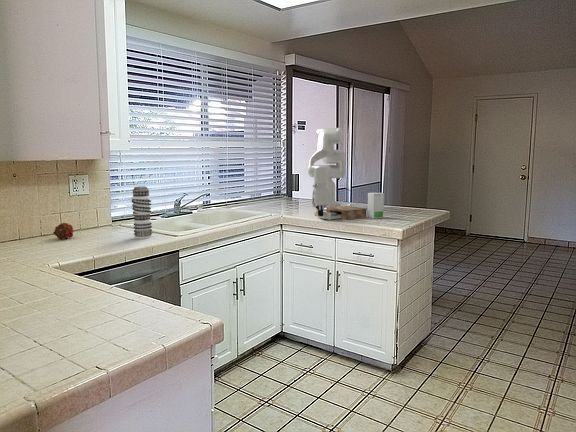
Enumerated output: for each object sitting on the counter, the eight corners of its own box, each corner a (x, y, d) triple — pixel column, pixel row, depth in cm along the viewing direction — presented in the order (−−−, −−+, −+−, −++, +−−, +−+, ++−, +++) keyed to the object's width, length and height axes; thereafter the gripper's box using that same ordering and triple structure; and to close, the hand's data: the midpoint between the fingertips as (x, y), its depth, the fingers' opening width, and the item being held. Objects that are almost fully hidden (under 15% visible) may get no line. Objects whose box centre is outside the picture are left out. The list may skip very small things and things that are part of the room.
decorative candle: (129, 238, 223) (127, 187, 219) (139, 235, 232) (136, 186, 228) (147, 239, 221) (144, 187, 218) (156, 235, 230) (153, 186, 227)
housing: (346, 213, 302) (346, 205, 301) (366, 217, 285) (366, 208, 284) (326, 215, 294) (326, 207, 293) (345, 219, 277) (345, 210, 276)
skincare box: (373, 218, 279) (373, 193, 276) (366, 217, 284) (366, 192, 282) (384, 217, 282) (384, 192, 280) (377, 216, 288) (377, 192, 286)
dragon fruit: (64, 244, 219) (62, 243, 229) (79, 232, 223) (76, 232, 233) (51, 230, 216) (49, 231, 226) (66, 219, 220) (63, 219, 230)
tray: (336, 215, 294) (336, 209, 293) (348, 217, 282) (348, 211, 282) (317, 217, 286) (317, 210, 286) (329, 219, 275) (329, 213, 274)
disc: (332, 214, 288) (332, 211, 288) (339, 216, 282) (339, 213, 282) (323, 215, 285) (323, 212, 285) (330, 217, 279) (330, 213, 279)
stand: (318, 214, 298) (318, 209, 298) (322, 215, 295) (322, 210, 294) (313, 215, 296) (313, 210, 296) (317, 216, 292) (317, 210, 292)
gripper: (313, 187, 270) (313, 218, 272) (334, 186, 277) (333, 216, 280) (306, 186, 276) (306, 216, 279) (327, 185, 284) (326, 214, 286)
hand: (320, 216), depth 279 cm, fingers closed
